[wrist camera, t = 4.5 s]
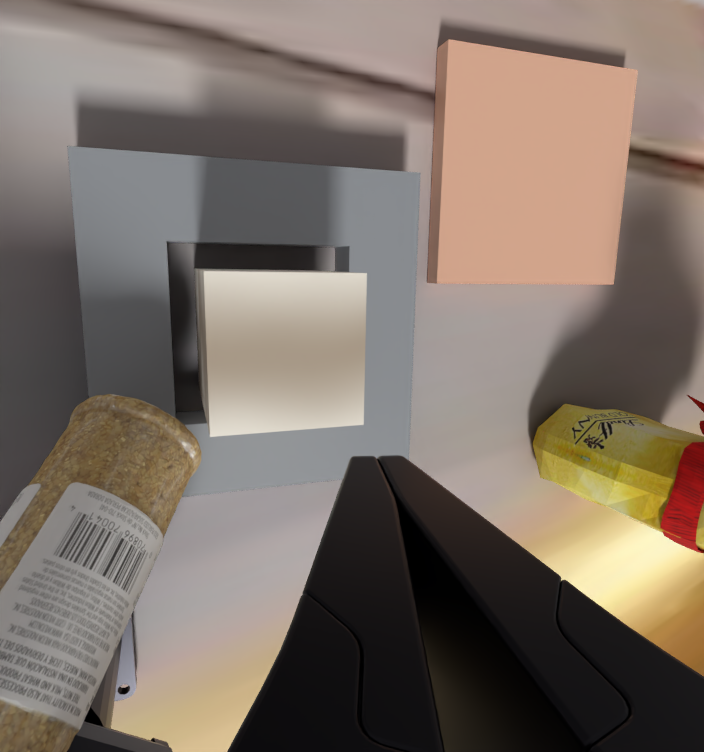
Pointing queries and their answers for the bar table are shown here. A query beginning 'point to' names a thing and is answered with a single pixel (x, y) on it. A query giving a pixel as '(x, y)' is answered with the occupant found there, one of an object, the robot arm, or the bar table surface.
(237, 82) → the bar table surface
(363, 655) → the robot arm
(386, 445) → the collar
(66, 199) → the bar table surface
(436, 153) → the terracotta tile
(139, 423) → the sprinkles bottle
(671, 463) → the chocolate bunny
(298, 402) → the cream block
